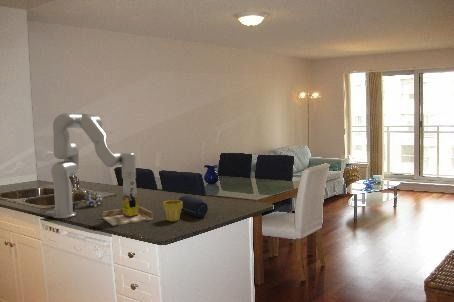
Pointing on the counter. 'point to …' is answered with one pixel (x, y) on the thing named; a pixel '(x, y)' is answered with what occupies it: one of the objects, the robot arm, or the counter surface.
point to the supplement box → (126, 207)
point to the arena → (117, 217)
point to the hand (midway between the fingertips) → (129, 205)
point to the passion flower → (93, 199)
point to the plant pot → (173, 209)
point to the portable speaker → (194, 206)
